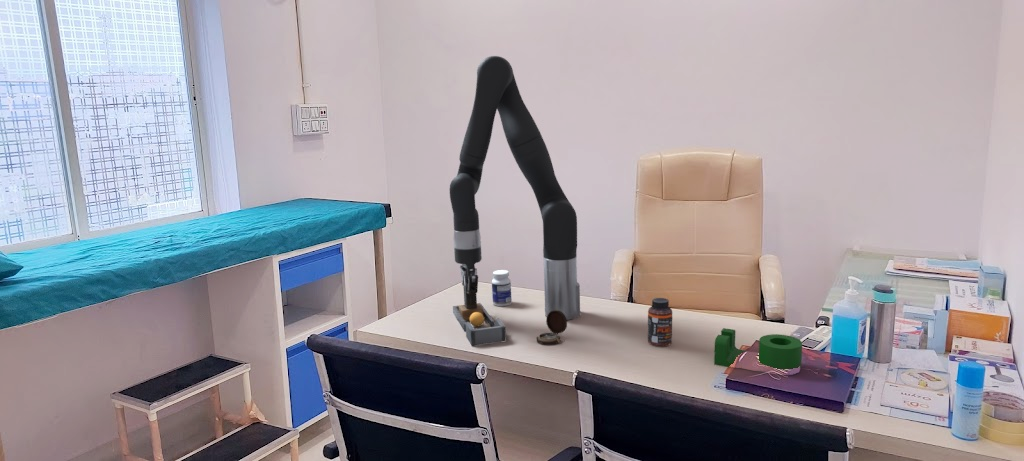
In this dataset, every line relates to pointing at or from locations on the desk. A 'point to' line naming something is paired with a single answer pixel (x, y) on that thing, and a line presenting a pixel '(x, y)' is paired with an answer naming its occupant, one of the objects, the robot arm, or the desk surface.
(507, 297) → the pill bottle
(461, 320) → the track
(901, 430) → the desk surface
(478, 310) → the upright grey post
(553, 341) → the compass
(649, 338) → the supplement bottle
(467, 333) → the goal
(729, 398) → the desk surface
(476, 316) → the ball
